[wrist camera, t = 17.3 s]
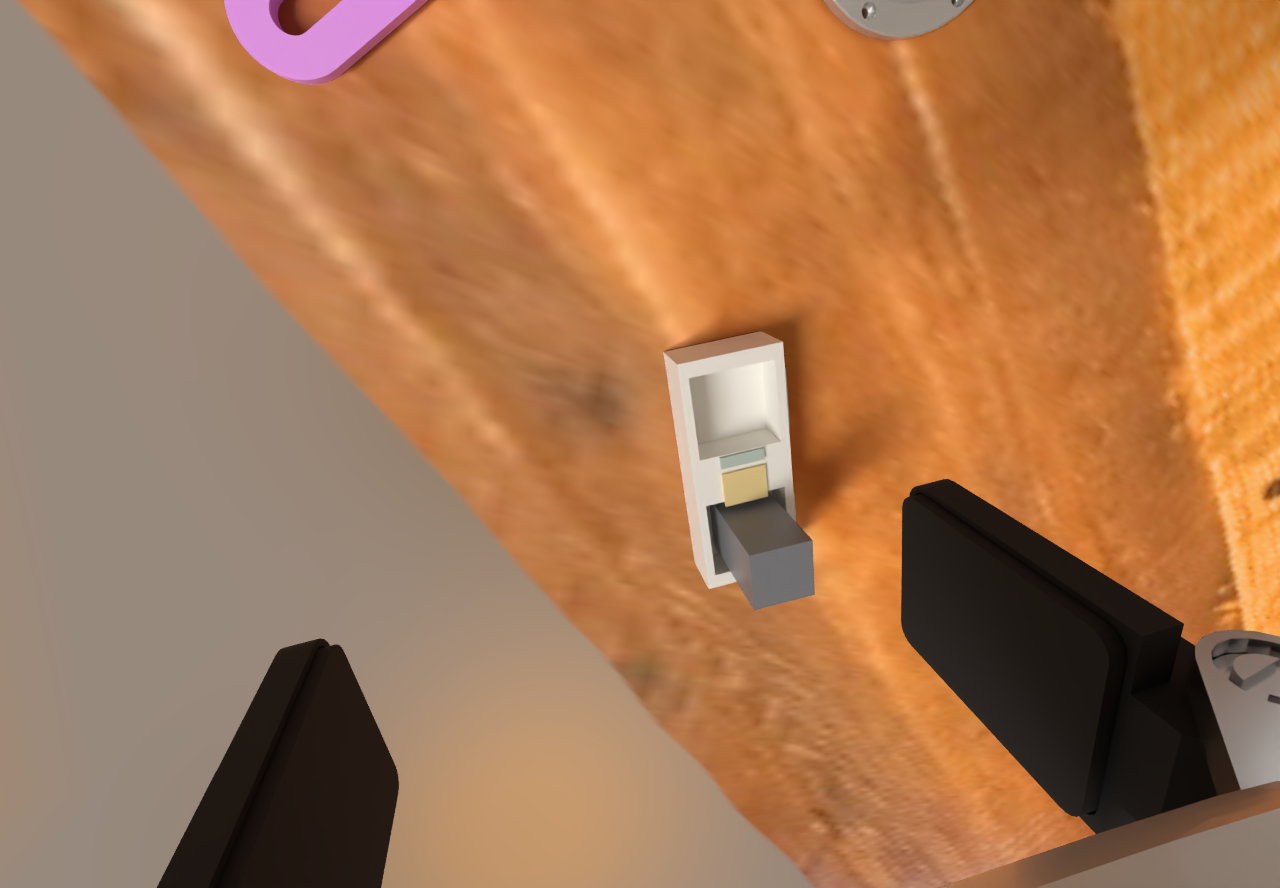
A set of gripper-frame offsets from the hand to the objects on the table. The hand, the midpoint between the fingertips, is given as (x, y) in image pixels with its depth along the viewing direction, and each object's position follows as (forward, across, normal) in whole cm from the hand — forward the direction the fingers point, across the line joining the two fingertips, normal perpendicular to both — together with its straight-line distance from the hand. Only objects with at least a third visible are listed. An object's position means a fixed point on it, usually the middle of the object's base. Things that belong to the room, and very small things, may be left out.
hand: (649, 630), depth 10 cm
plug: (+29, -10, +16) cm, 35 cm away
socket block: (+30, -10, +12) cm, 34 cm away
